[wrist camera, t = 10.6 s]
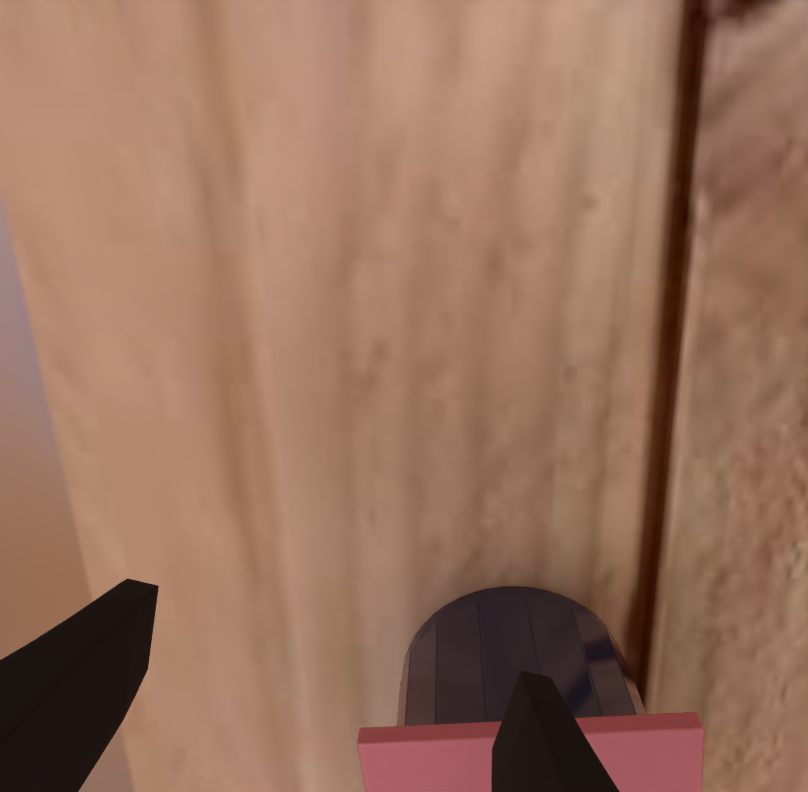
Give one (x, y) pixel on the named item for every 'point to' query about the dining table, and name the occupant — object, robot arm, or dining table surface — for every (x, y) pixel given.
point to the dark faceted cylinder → (512, 659)
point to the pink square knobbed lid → (472, 742)
